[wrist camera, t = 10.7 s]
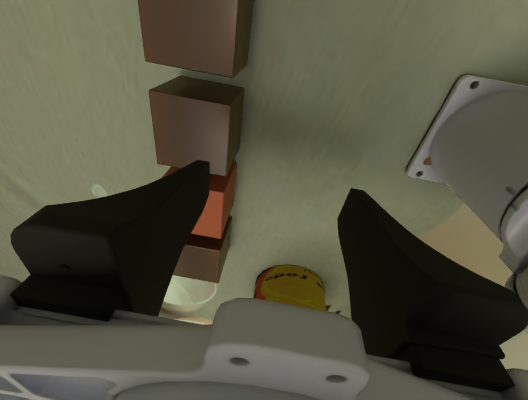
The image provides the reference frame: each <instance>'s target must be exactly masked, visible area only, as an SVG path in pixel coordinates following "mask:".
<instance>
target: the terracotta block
mask: <svg viewBox="0 0 528 400" xmlns="http://www.w3.org/2000/svg"><path fill="white" fill-rule="evenodd" d="M179 169H181V168H178V167H172V166H171V168H170V169H169V170H168V171H167V172H166V173H165V175H164V176H163V177H165V176H167V175H169V174H172V173H173V172H175V171H177V170H179ZM235 174H236V163H235V162H232V164H231V166H230V169H229V171H228V173H227V175H226V176H221V175H215V174H210V181H209V197H208V200H207V203H206V205H205V208H204V210H203V212H202V214H201V216H200V218H199V220H198V222H197V224H196V225H195V227H194V229H193V231H192V233H191V234H197V235H202V236H208V237H213V238H219V239H221V237H222V234H223V231H224V228H225V225H226V223H227V220H228V217H229V214H230V211H231V208H232V205H233V195H234V184H235ZM163 177H162V178H163Z"/></svg>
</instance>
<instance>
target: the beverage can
mask: <svg viewBox="0 0 528 400" xmlns="http://www.w3.org/2000/svg"><path fill="white" fill-rule="evenodd" d="M253 298H255V299H261V300H266V301H272V302H277V303H283V304H288V305H294V306H300V307H305V308H311V309H316V310H322V311H326V304H325V295H324V287H323V282H322V280H321V279H320V278H319V276H318V275H316V274H315V273H314V272H312V271H310V270H308V269H306V268H303V267H299V266H294V265H280V266H275V267H271V268H268V269H267V270H265V271H263V272H262V273H261V274H260V275H259V276H258V277H257V280H256V283H255V290H254V296H253Z"/></svg>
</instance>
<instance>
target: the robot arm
mask: <svg viewBox="0 0 528 400" xmlns="http://www.w3.org/2000/svg"><path fill="white" fill-rule="evenodd" d="M474 81H475V82H476V83H475V85H474V86H473V87H471V88H470V84H471V83H472V82H474ZM429 156H430V158H431V161H432V165H424V164H423V162H424V160H425V159H426V158H427V157H429ZM419 171H421V172H420V173H419V174H416V173H417V172H419ZM406 174H407V175H408V177H411V178H416V179H421V180H427V181H432V182H437V183H443V184H448V186H449V187H450V188H451V189H452V190H453V191H454V192H455V193H456V194H457V195H458V196H459V197H460V198H461V199H462V200H463V201H464V202H465V203H466V205H467V206H468V207H469V208H470V209H471V210H472V211H473V212H474V213H475V214H476V215H477V216H478V217H479V218H480V219H481V220H482V221H483V222H484V223H485V224H486V226H487V227H488V228H489V229H490V230H491V231H492V232H493V233H494V234H495V235H496V236H497V237H498V238H499V239H500V240H501V241H502V242H503V244H504V247H503V251H502V253H501V254H500V255H499V257H500V259H501V260H502V261H503V262H504V263H505V264H506V265H507V267H508V268H509V269H510V270H511V271H512V272H513V273H514V274H512V275H511V276H510V278H509V279H508V280H507V282H506V284H505V287H503V286H501V285H499V284H497V283H495V282H493V281H491V280H488V279H486V278H484V277H482V276H480V275H478V274H476V273H474V272H472V271H470V270H468V269H467V268H465V267H463V266H461V265H459V264H457V263H455V262H454V261H452V260H450V259H449V258H447V257H446V256H444V255H442V254H441V253H439V252H437V251H436V250H434V249H433V248H431V247H430V246H428V245H427V244H425V243H424V242H423V241H421V240H420V239H418V238H417V237H416V236H414V235H413V234H412V233H410V232H409V231H408V230H407V229H405V228H404V227H403V226H402V225H401V224H400V223H398V222H397V221H396V220H395V219H394V218H393V217H392V216H390V215H389V214H388V213H387V212H386V211H385V210H384V209H383V208H382V207H381V206H380V205H379V204H378V203H377V202H376V201H375V200H374V199H373V198H371V197H370V196H369V195H368V194H367V193H366V192H365V191H363V190H359V189H353V188H351V189H350V192H349V194H348V196H347V198H346V201H345V203H344V205H343V207H342V210H341V212H340V214H339V216H338V234H339V240H340V245H341V249H342V254H343V258H344V262H345V267H346V271H347V277H348V283H349V293H350V304H351V317H352V320H351V319H350V318H347V317H345V316H342V315H339V314H336V313H333V312H327V311H322V310H316V309H311V308H305V307H300V306H294V305H288V304H283V303H277V302H272V301H266V300H261V299H255V298H236V299H233V300H230V301H227V302H224V303H222V304H221V305H220V307H219V308H218V310H217V311H216V313H215V317H214V321H213V324H212V325H201V324H195V323H189V322H184V321H178V320H173V319H167V318H162V317H158V315H159V312H160V309H161V306H162V303H163V300H164V297H165V294H166V292H167V289H168V286H169V283H170V281H171V278H172V275H173V273H174V270H175V267H176V265H177V262H178V260H179V258H180V255H181V253H182V250H183V248H184V246H185V244H186V242H187V240H188V238H189V236H190V235H191V233H192V231H193V229H194V227H195V225H196V224H197V222H198V220H199V218H200V216H201V214H202V212H203V210H204V208H205V205H206V203H207V200H208V197H209V181H210V162H208V161H202V160H196V161H194V162H192V163H190V164H188V165H187V166H185V167H183V168H181V169H179V170H177V171H175V172H173V173H172V174H169V175H167V176H165V177H163V178H161V179H159V180H157V181H154V182H152V183H149V184H147V185H144V186H141V187H139V188H136V189H133V190H129V191H126V192H122V193H118V194H115V195H111V196H106V197H102V198H97V199H91V200H86V201H79V202H72V203H64V204H56V205H46V206H45V207H43V208H42V209H41V210H39V211H38V212H37V213H35V214H34V215H33V216H31V217H30V218H28V219H27V220H26V221H24V222H23V223H22V224H20V225H19V226H18V227H16V228H15V229H14V230H13V231H12V233H11V244H12V246H13V248H14V250H15V252H16V253H17V255H18V256H19V258H20V259H21V261H22V262H23V264H24V265H25V267H26V268H27V270H28V271H29V273H30V274H31V275H30V276H29V277H28V278H27V279H26V280H25V281H24V282H23V283H22V282H20V281H19V280H17V279H14V278H11V277H7V276H1V275H0V400H528V370H523V369H514V368H513V369H505V368H504V366H503V364H502V363H501V361H500V359H503V358H505V354H504V353H503V352H502V350H501V348H500V346H499V345H500V344H502V343H504V342H505V341H507V340H509V339H510V338H512V337H513V336H515V335H517V334H518V333H520V332H521V331H522V330H524V329H525V330H526V331H527V332H528V86H526V85H520V84H515V83H510V82H505V81H500V80H494V79H489V78H484V77H479V76H473V75H464V76H462V77H461V78H459V80H458V81H457V82H456V84H455V86H454V88H453V89H452V91H451V93H450V95H449V96H448V98H447V100H446V102H445V103H444V105H443V107H442V109H441V110H440V112H439V114H438V116H437V117H436V119H435V121H434V122H433V124H432V126H431V128H430V129H429V131H428V133H427V135H426V136H425V138H424V140H423V142H422V143H421V145H420V147H419V149H418V150H417V152H416V154H415V156H414V157H413V159H412V161H411V163H410V164H409V166H408V168H407V170H406Z"/></svg>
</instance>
